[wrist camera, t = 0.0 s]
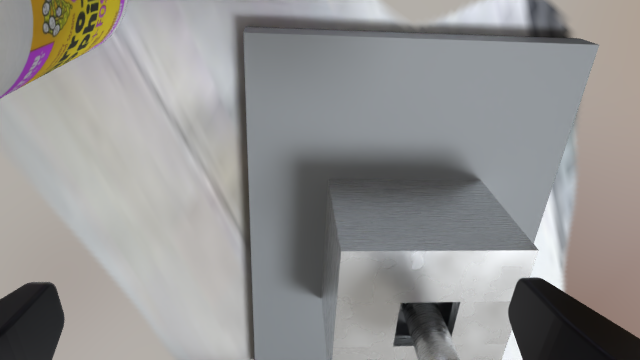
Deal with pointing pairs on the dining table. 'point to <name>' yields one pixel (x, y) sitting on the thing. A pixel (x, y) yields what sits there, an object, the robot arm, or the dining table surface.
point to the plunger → (427, 329)
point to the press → (418, 265)
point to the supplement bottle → (50, 35)
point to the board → (389, 141)
